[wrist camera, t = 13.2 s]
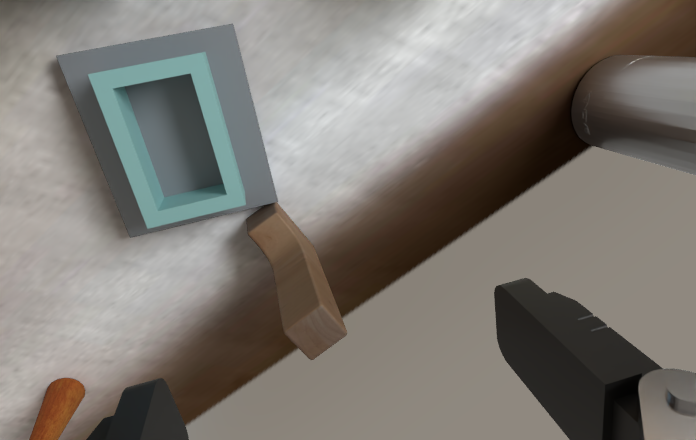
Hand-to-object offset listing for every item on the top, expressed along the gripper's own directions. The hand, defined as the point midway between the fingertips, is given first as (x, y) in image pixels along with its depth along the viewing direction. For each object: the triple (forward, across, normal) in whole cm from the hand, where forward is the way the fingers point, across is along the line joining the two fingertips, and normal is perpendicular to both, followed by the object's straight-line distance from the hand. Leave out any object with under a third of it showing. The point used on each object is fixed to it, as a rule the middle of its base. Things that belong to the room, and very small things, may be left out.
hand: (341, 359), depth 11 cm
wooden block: (+32, +2, +10) cm, 34 cm away
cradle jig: (+32, +8, -2) cm, 33 cm away
